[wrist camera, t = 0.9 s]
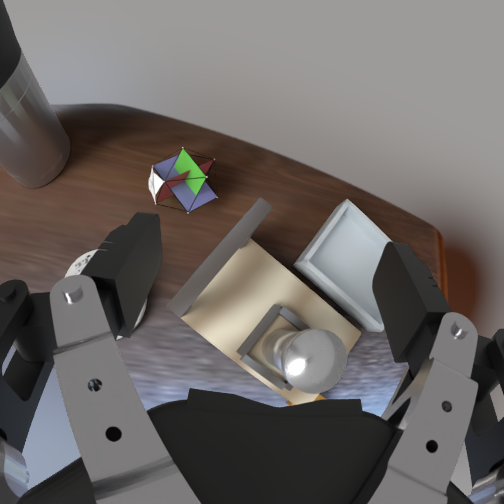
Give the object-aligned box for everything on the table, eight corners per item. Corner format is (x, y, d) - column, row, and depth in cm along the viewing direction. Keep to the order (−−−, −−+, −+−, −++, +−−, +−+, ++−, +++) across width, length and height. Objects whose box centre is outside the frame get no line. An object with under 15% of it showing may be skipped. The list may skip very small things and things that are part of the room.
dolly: (170, 314, 32) (157, 316, 19) (237, 236, 35) (263, 193, 22) (304, 414, 32) (358, 457, 20) (359, 339, 36) (430, 345, 23)
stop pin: (247, 352, 30) (271, 370, 21) (276, 315, 32) (313, 315, 22) (283, 379, 30) (321, 405, 21) (311, 342, 32) (358, 352, 22)
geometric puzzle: (205, 139, 34) (168, 130, 27) (241, 182, 34) (210, 182, 27) (167, 180, 37) (125, 181, 30) (199, 222, 37) (161, 232, 29)
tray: (292, 265, 36) (301, 261, 33) (336, 206, 38) (347, 198, 35) (368, 331, 36) (381, 332, 33) (403, 270, 39) (417, 267, 36)
